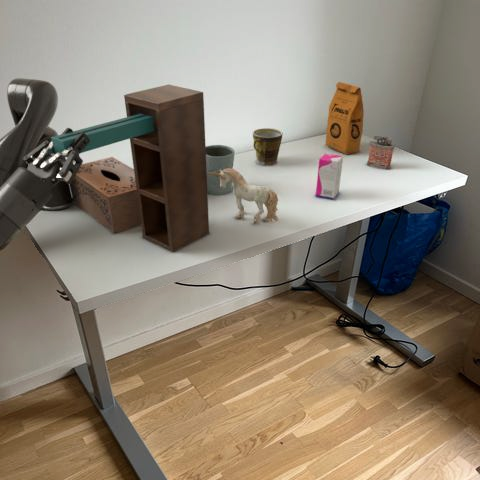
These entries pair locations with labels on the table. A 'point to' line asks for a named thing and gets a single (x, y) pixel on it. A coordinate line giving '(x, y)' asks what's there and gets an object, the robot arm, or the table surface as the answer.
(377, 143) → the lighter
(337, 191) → the supplement box
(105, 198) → the tissue box cover
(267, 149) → the ceramic cup
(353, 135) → the coffee package
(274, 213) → the unicorn figurine
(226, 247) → the table surface
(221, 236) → the table surface
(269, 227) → the table surface
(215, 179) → the grey flower pot
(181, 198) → the shelf
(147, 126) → the pencil case
